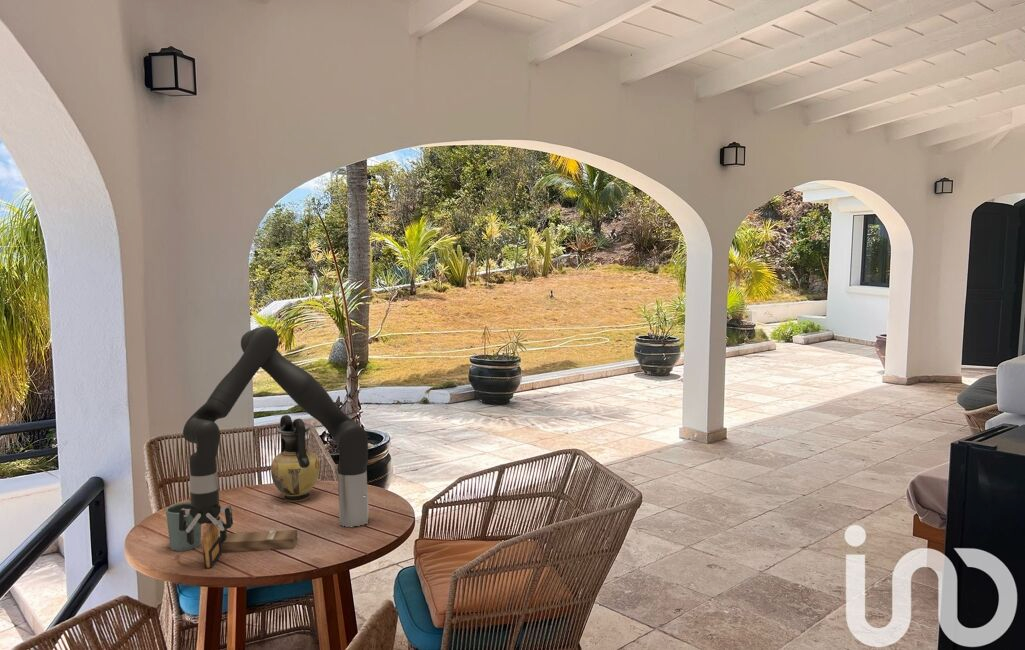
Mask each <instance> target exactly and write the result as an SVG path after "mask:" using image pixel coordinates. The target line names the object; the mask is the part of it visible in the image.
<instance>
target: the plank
mask: <svg viewBox="0 0 1025 650" xmlns="http://www.w3.org/2000/svg"><path fill="white" fill-rule="evenodd" d="M218 533H219V537H220V532H218ZM298 539H299V538H298V529H293V530H290V529H289V530H277V529H276V530H275V529H273V530H270V531H255V532H254V531H252V532H236V533H235V532H233V533H227V538H226V540H225V541H224V543H221V550H222V553H234V552H250V551H251V552H252V551H255V552H256V551H269V550H270V551H272V550H273V549H274V550H287V549H289V550H290V549H294V548H295V547H296V544H297V543H298ZM271 549H272V550H271ZM202 550H203V551H204V545H203V544H202ZM203 551H202V552H203Z"/></svg>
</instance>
